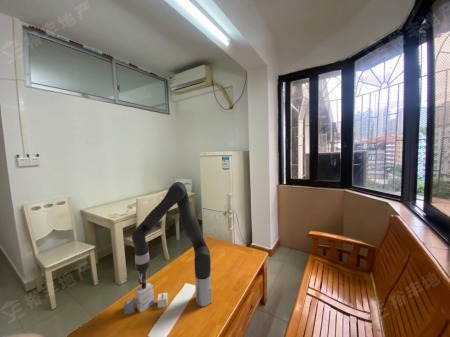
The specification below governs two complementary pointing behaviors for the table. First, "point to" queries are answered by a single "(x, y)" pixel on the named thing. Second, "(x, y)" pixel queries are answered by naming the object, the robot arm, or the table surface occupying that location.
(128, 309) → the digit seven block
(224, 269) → the table surface
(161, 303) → the digit one block
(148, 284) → the ink box
